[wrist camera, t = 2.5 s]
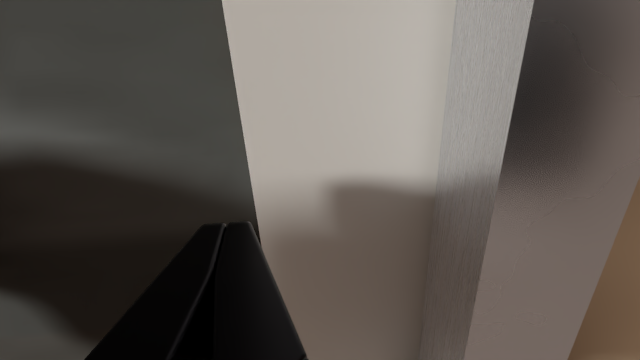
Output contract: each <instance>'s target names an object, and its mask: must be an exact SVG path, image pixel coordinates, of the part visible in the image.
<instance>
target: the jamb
mask: <svg viewBox="0 0 640 360" xmlns="http://www.w3.org/2000/svg"><path fill="white" fill-rule="evenodd" d="M222 4H223V10H224V16H225V23H226V29H227V35H228V41H229V48H230V54H231V60H232V66H233V72H234V79H235V85H236V91H237V97H238V103H239V110H240V116H241V122H242V128H243V134H244V141H245V147H246V153H247V159H248V166H249V172H250V178H251V184H252V190H253V197H254V203H255V209H256V215H257V221H258V228H259V234H260V240H261V246H262V250H263V252H264V255H265V257H266V259H267V262H268V264H269V267H270V269H271V271H272V274H273V276H274V278H275V281H276V283H277V286H278V288H279V290H280V293H281V295H282V297H283V300H284V302H285V305H286V307H287V309H288V312H289V314H290V316H291V319H292V321H293V324H294V326H295V328H296V331H297V333H298V335H299V338H300V340H301V343H302V345H303V347H304V350H305V352H306V354H307V359H309V360H418V355H419V345H420V336H421V326H422V317H423V308H424V298H425V289H426V279H427V270H428V261H429V251H430V242H431V232H432V223H433V213H434V204H435V195H436V185H437V176H438V166H439V157H440V148H441V138H442V129H443V119H444V110H445V101H446V91H447V82H448V72H449V63H450V54H451V44H452V35H453V25H454V16H455V7H456V0H222Z"/></svg>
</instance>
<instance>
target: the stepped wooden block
mask: <svg viewBox="0 0 640 360" xmlns="http://www.w3.org/2000/svg"><path fill="white" fill-rule="evenodd" d="M567 360H640V177H639V180H638V182H637V185H636V187H635V190H634V192H633V195H632V197H631V200H630V202H629V205H628V208H627V210H626V213H625V215H624V218H623V220H622V223H621V225H620V228H619V230H618V233H617V235H616V238H615V240H614V243H613V245H612V248H611V251H610V253H609V256H608V258H607V261H606V263H605V266H604V268H603V271H602V273H601V276H600V278H599V281H598V283H597V286H596V288H595V291H594V294H593V296H592V299H591V301H590V304H589V306H588V309H587V311H586V314H585V316H584V319H583V321H582V324H581V326H580V329H579V331H578V334H577V337H576V339H575V342H574V344H573V347H572V349H571V352H570V354H569V357H568V359H567Z"/></svg>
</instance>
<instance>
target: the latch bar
mask: <svg viewBox="0 0 640 360" xmlns="http://www.w3.org/2000/svg"><path fill="white" fill-rule="evenodd" d="M639 177H640V0H456V7H455V16H454V25H453V35H452V44H451V54H450V63H449V72H448V82H447V91H446V101H445V110H444V119H443V129H442V138H441V148H440V157H439V166H438V176H437V185H436V195H435V204H434V213H433V223H432V232H431V242H430V251H429V261H428V270H427V279H426V289H425V298H424V308H423V317H422V326H421V336H420V345H419V355H418V360H567V359H568V357H569V354H570V352H571V349H572V347H573V344H574V342H575V339H576V337H577V334H578V331H579V329H580V326H581V324H582V321H583V319H584V316H585V314H586V311H587V309H588V306H589V304H590V301H591V299H592V296H593V294H594V291H595V288H596V286H597V283H598V281H599V278H600V276H601V273H602V271H603V268H604V266H605V263H606V261H607V258H608V256H609V253H610V251H611V248H612V245H613V243H614V240H615V238H616V235H617V233H618V230H619V228H620V225H621V223H622V220H623V218H624V215H625V213H626V210H627V208H628V205H629V202H630V200H631V197H632V195H633V192H634V190H635V187H636V185H637V182H638V180H639Z"/></svg>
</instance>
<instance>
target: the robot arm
mask: <svg viewBox="0 0 640 360" xmlns="http://www.w3.org/2000/svg"><path fill="white" fill-rule="evenodd" d="M84 360H309V359H307V354H306V352H305V350H304V347H303V345H302V343H301V340H300V338H299V335H298V333H297V331H296V328H295V326H294V324H293V321H292V319H291V316H290V314H289V312H288V309H287V307H286V305H285V302H284V300H283V297H282V295H281V293H280V290H279V288H278V286H277V283H276V281H275V278H274V276H273V274H272V271H271V269H270V267H269V264H268V262H267V259H266V257H265V255H264V252H263V250H262V248H261V245H260V243H259V240H258V238H257V236H256V233H255V231H254V229H253V226H252V224H251V223H250V222H249V221H243V222H230V223H229V224H227V225H226V224H225V223H213V224H204V225H202V226H201V227H200V228H199V229H198V230H197V232H196V233H195V234H194V235H193V236H192V237H191V238H190V240H189V241H188V242H187V243H186V244H185V245H184V246H183V248H182V249H181V250H180V251H179V252H178V253H177V254H176V256H175V257H174V258H173V259H172V260H171V261H170V262H169V264H168V265H167V266H166V267H165V268H164V269H163V270H162V272H161V273H160V274H159V275H158V276H157V277H156V278H155V280H154V281H153V282H152V283H151V284H150V285H149V286H148V288H147V289H146V290H145V291H144V292H143V293H142V294H141V296H140V297H139V298H138V299H137V300H136V301H135V302H134V303H133V305H132V306H131V307H130V308H129V309H128V310H127V311H126V313H125V314H124V315H123V316H122V317H121V318H120V319H119V321H118V322H117V323H116V324H115V325H114V326H113V327H112V329H111V330H110V331H109V332H108V333H107V334H106V335H105V337H104V338H103V339H102V340H101V341H100V342H99V343H98V345H97V346H96V347H95V348H94V349H93V350H92V351H91V353H90V354H89V355H88V356H87V357H86V358H85V359H84Z"/></svg>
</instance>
